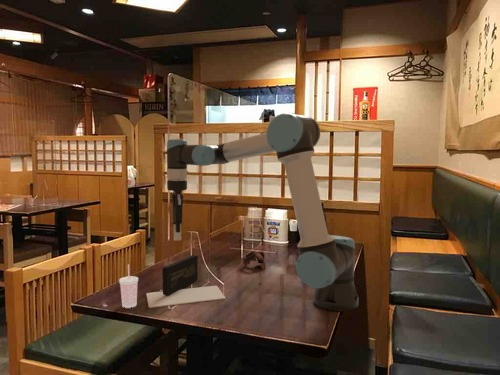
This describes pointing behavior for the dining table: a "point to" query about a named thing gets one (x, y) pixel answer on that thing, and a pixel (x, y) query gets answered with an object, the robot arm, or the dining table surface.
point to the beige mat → (184, 296)
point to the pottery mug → (254, 258)
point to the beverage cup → (129, 290)
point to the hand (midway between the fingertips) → (177, 239)
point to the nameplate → (180, 274)
